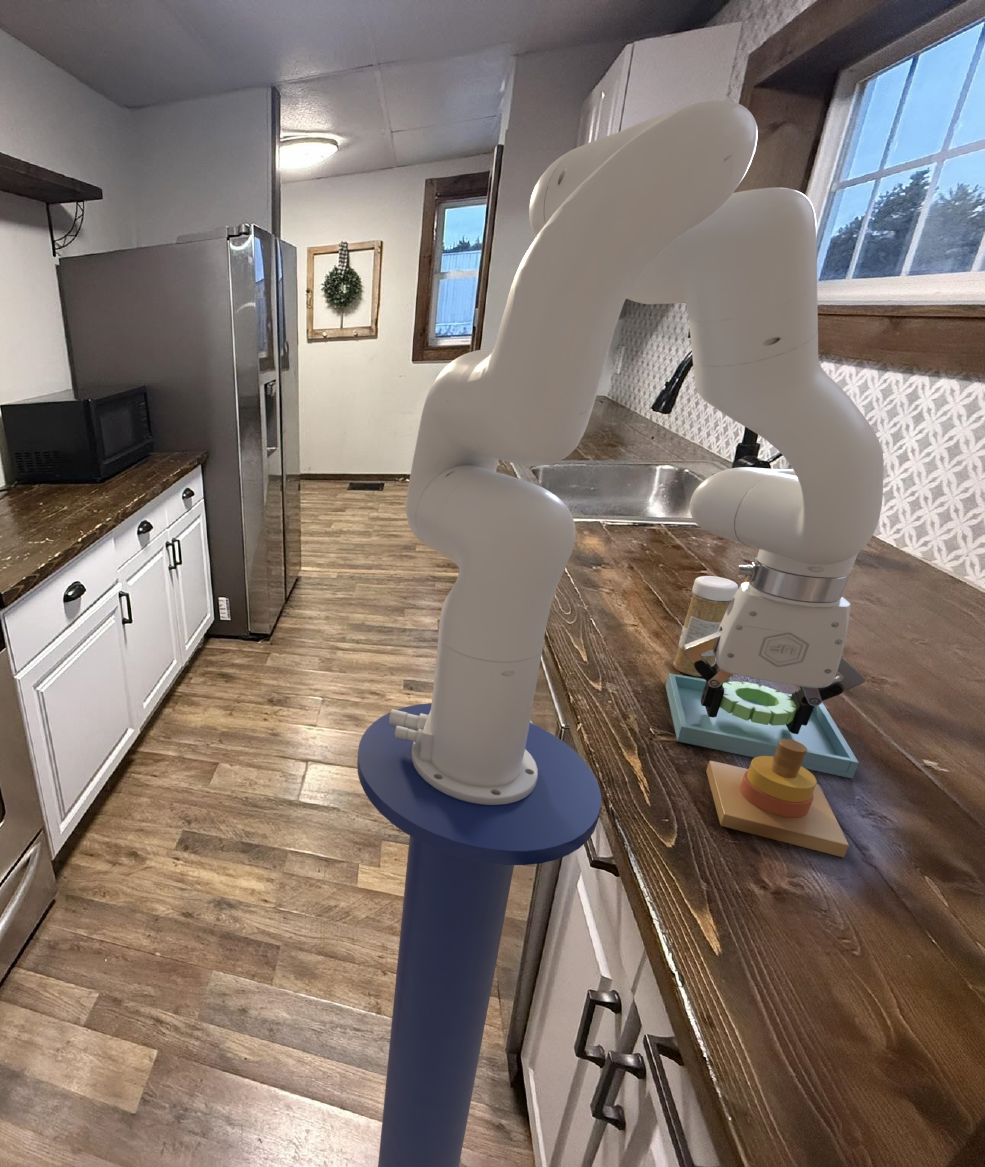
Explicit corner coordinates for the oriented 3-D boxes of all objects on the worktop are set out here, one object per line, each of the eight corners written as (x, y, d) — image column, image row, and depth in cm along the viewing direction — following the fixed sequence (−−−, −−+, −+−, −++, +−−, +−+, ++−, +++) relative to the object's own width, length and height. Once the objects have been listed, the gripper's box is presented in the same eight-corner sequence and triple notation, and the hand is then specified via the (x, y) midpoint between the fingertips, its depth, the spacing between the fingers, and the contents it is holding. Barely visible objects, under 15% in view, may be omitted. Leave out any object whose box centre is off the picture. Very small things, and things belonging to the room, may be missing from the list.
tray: (677, 741, 73) (681, 726, 72) (665, 686, 84) (669, 673, 83) (852, 778, 66) (859, 762, 65) (815, 713, 77) (821, 699, 76)
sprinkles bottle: (681, 658, 90) (704, 572, 85) (718, 671, 86) (745, 582, 81) (665, 668, 88) (688, 580, 83) (703, 682, 84) (729, 590, 79)
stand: (720, 826, 61) (742, 759, 58) (705, 771, 68) (725, 709, 65) (844, 858, 57) (875, 788, 54) (814, 796, 64) (841, 731, 61)
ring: (721, 716, 73) (724, 704, 72) (711, 687, 78) (714, 676, 78) (800, 731, 69) (804, 719, 69) (783, 700, 75) (787, 688, 74)
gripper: (702, 581, 69) (664, 717, 75) (923, 608, 61) (859, 757, 67) (692, 559, 75) (658, 687, 81) (893, 581, 67) (836, 721, 73)
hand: (749, 718), depth 74 cm, fingers closed on ring, 6 cm apart
